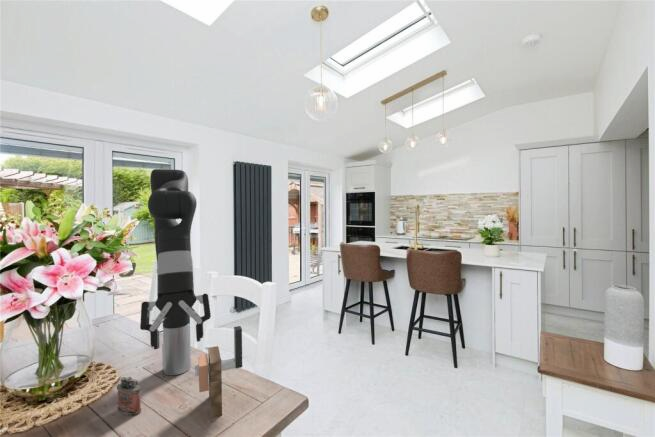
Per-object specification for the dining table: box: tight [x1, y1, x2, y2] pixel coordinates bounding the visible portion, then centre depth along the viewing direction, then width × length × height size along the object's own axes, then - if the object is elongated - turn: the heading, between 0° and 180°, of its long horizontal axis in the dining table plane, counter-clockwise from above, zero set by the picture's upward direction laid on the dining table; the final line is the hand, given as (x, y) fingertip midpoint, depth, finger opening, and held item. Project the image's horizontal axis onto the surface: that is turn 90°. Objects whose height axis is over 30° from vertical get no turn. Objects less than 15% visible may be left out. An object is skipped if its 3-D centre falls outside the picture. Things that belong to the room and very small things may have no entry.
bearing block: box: [207, 346, 223, 419], centre depth 95 cm, size 3×11×16 cm, turn 24°
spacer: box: [197, 353, 209, 393], centre depth 94 cm, size 2×8×8 cm, turn 24°
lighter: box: [116, 376, 142, 417], centre depth 93 cm, size 8×3×10 cm, turn 70°
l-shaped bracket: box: [194, 325, 243, 377], centre depth 96 cm, size 14×3×12 cm, turn 114°
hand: (178, 344), depth 70 cm, fingers open, 8 cm apart
